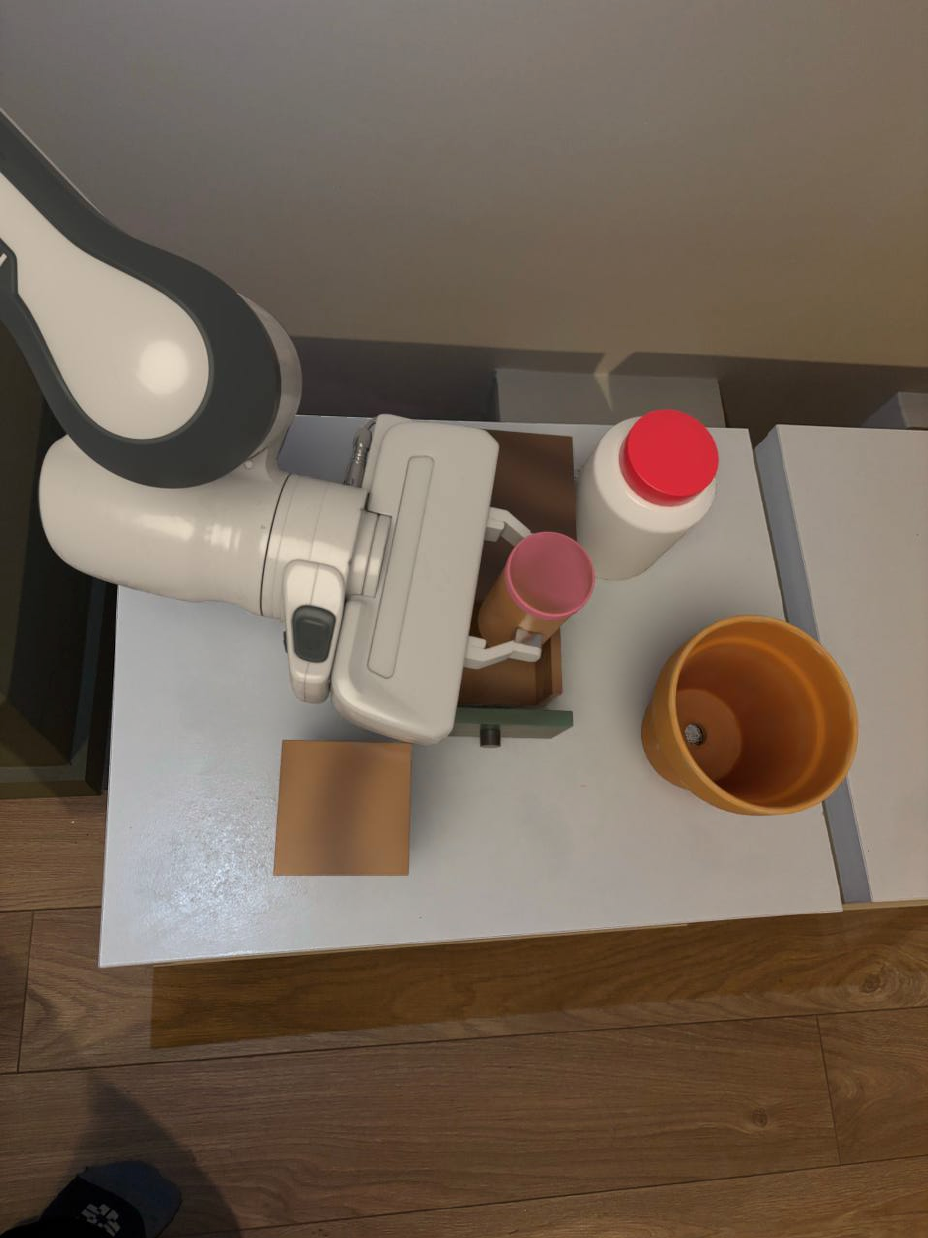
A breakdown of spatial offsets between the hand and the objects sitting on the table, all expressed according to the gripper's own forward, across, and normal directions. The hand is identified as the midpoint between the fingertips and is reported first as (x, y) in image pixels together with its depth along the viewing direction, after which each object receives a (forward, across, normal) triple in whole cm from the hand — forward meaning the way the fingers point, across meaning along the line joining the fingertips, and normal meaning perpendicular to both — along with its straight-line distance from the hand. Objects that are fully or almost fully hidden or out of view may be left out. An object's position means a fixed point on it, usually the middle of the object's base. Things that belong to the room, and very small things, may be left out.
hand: (546, 601), depth 50 cm
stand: (-10, +14, -18) cm, 25 cm away
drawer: (-1, 0, -17) cm, 17 cm away
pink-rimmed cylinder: (-1, 0, -6) cm, 6 cm away
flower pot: (+18, +3, -18) cm, 26 cm away
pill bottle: (+9, -15, -18) cm, 25 cm away
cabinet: (-2, -10, -18) cm, 21 cm away
